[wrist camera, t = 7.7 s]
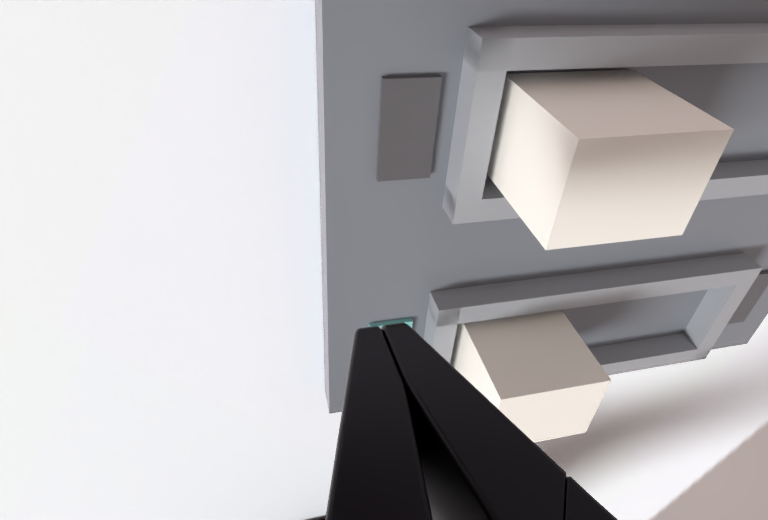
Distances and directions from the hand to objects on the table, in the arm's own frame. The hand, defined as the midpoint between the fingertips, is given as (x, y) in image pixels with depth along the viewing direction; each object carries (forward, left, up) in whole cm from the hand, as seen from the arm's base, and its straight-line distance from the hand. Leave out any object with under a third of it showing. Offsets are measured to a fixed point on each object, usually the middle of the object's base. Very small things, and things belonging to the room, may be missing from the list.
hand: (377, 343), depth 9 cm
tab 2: (-9, -7, -7) cm, 14 cm away
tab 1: (0, -7, -7) cm, 10 cm away
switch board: (-4, -11, -9) cm, 15 cm away
